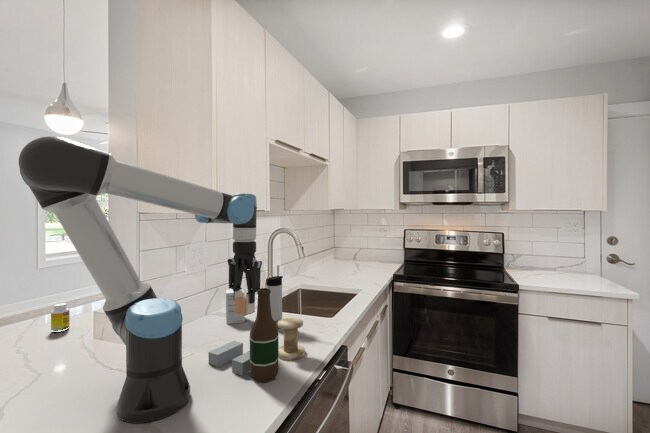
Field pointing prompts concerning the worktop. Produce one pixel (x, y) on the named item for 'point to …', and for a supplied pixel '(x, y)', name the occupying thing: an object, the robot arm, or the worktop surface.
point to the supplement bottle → (60, 317)
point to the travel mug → (275, 297)
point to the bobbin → (291, 339)
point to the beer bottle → (264, 341)
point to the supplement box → (232, 308)
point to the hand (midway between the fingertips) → (243, 311)
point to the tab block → (241, 306)
